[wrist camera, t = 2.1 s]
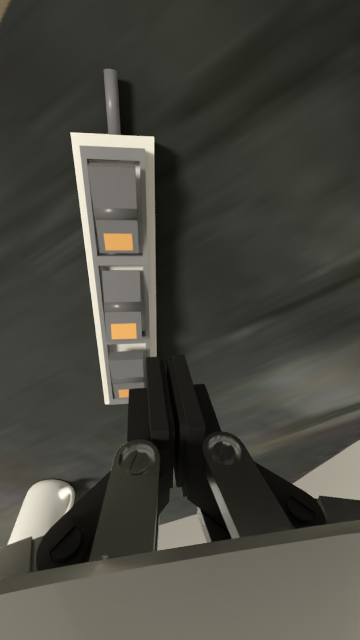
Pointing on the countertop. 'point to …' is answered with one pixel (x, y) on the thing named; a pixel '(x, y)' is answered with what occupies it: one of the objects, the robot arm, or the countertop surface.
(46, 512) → the mug
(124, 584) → the robot arm
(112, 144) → the power strip
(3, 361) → the countertop surface
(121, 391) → the rocker
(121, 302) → the rocker
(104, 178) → the rocker
